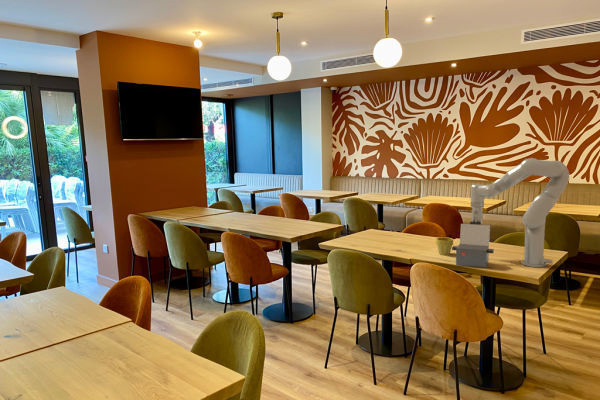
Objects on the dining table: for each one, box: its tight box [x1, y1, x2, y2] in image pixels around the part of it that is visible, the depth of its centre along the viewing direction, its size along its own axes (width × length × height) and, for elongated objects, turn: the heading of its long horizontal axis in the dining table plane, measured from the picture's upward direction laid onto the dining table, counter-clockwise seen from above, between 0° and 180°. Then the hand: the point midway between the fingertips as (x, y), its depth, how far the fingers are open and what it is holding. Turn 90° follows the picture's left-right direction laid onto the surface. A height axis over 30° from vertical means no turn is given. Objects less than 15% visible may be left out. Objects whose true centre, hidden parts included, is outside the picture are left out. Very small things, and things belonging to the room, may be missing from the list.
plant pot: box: [435, 236, 454, 256], centre depth 275 cm, size 10×10×10 cm
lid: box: [459, 221, 491, 247], centre depth 257 cm, size 16×14×3 cm
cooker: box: [451, 243, 494, 269], centre depth 250 cm, size 22×12×10 cm, turn 61°
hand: (476, 234), depth 264 cm, fingers closed
